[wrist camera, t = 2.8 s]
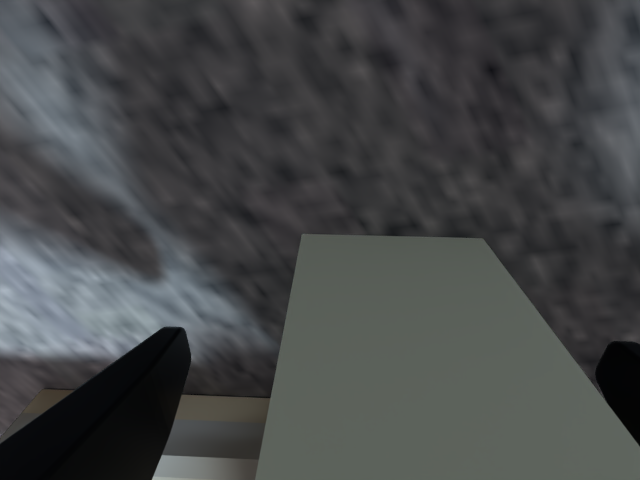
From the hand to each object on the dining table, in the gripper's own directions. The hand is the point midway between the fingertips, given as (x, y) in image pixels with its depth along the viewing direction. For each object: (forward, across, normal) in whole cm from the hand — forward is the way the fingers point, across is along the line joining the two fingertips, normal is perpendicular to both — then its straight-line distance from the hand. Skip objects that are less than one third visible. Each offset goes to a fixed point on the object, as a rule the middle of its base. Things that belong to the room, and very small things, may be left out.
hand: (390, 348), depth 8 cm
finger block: (+1, 0, 0) cm, 1 cm away
